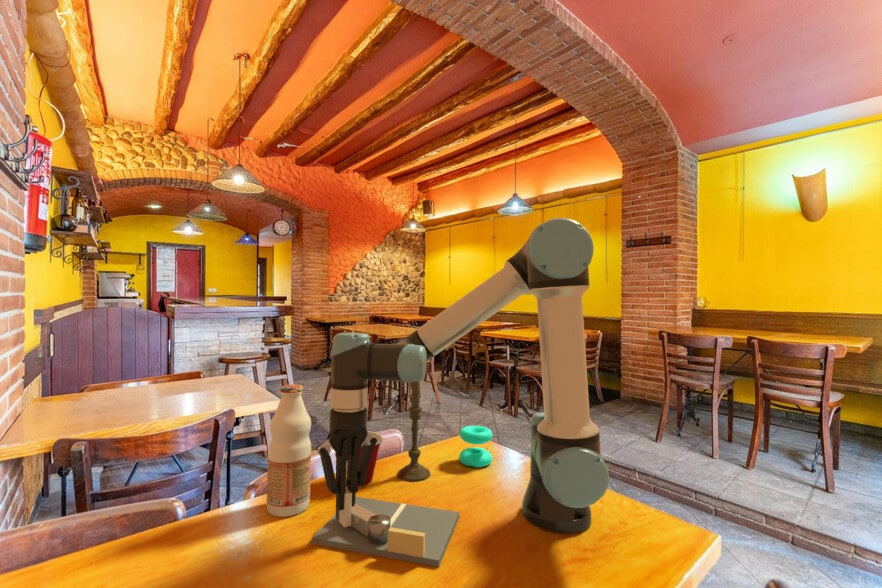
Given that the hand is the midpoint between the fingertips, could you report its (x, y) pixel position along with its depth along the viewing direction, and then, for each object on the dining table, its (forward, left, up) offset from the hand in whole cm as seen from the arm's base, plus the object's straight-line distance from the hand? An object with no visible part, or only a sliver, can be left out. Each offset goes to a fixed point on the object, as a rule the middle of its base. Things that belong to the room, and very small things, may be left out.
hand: (344, 523), depth 84 cm
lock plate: (-8, -5, -2) cm, 10 cm away
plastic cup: (+8, -25, -3) cm, 26 cm away
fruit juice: (+18, -7, -3) cm, 19 cm away
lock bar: (-4, -1, -1) cm, 4 cm away
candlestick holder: (-4, -33, -3) cm, 33 cm away
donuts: (-19, -47, -3) cm, 50 cm away
